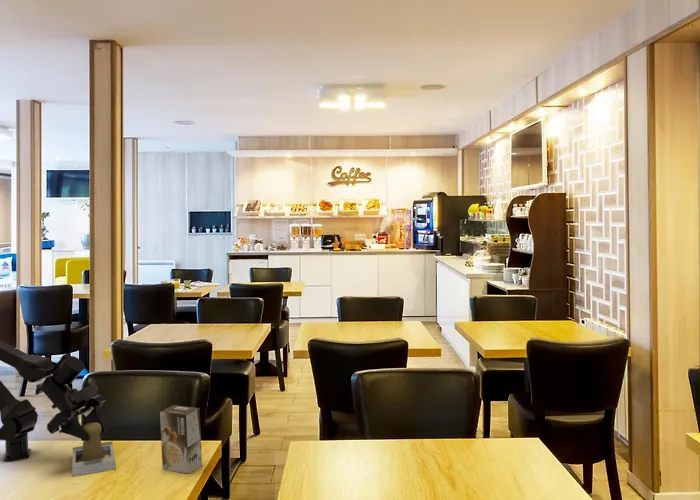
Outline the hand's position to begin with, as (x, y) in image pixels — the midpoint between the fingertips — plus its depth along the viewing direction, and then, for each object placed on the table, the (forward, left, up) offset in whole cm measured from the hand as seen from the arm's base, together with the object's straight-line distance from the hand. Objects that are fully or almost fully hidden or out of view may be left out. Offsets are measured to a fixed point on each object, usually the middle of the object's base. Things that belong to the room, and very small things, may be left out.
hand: (96, 435), depth 168 cm
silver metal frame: (-1, -1, -8) cm, 8 cm away
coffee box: (+14, +21, -8) cm, 26 cm away
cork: (-1, -1, -8) cm, 8 cm away
